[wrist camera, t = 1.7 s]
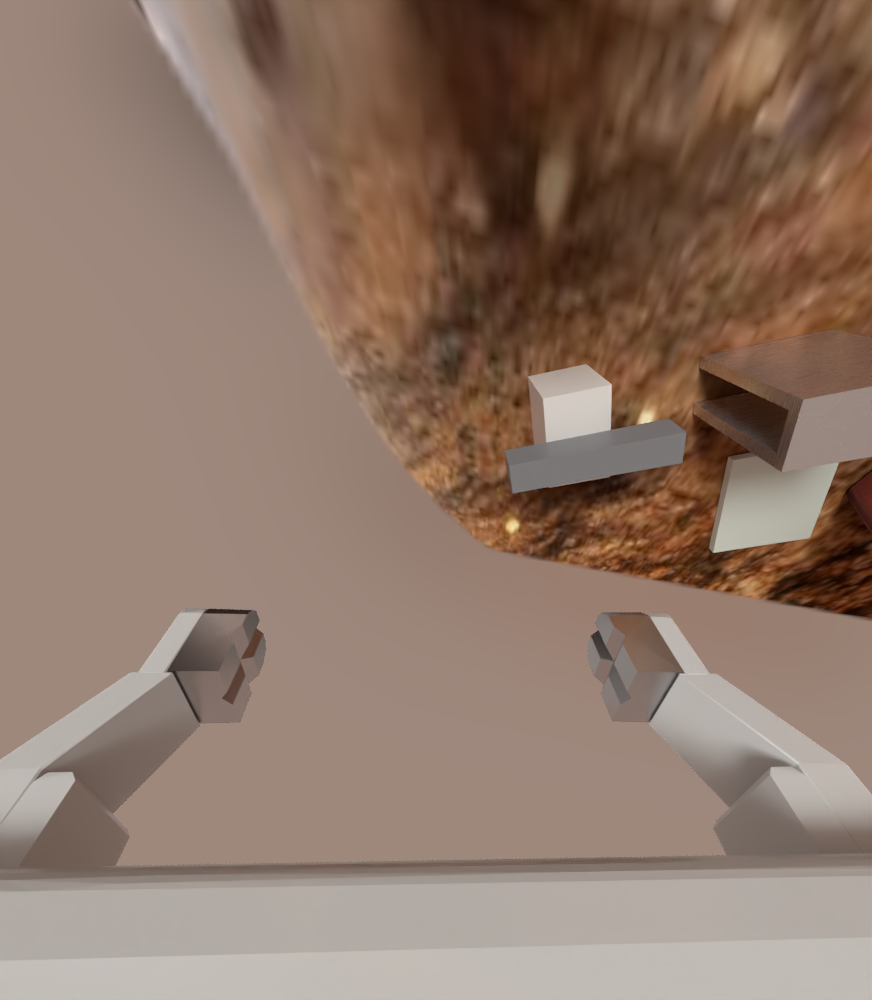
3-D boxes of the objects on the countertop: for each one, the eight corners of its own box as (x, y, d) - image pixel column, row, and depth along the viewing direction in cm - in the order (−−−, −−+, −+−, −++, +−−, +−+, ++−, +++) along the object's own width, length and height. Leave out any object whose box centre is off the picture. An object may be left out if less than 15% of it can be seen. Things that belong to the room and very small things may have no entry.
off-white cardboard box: (585, 363, 34) (611, 384, 29) (586, 446, 38) (609, 477, 33) (527, 376, 34) (543, 398, 29) (535, 456, 39) (549, 487, 34)
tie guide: (830, 328, 32) (991, 363, 23) (811, 390, 35) (947, 443, 25) (700, 356, 33) (803, 399, 24) (692, 413, 36) (781, 472, 27)
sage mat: (840, 436, 37) (847, 439, 36) (804, 533, 44) (809, 538, 43) (728, 456, 38) (733, 460, 38) (708, 548, 45) (712, 552, 44)
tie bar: (669, 418, 28) (686, 432, 26) (665, 448, 30) (682, 462, 28) (504, 450, 30) (508, 465, 28) (507, 477, 31) (512, 493, 29)
